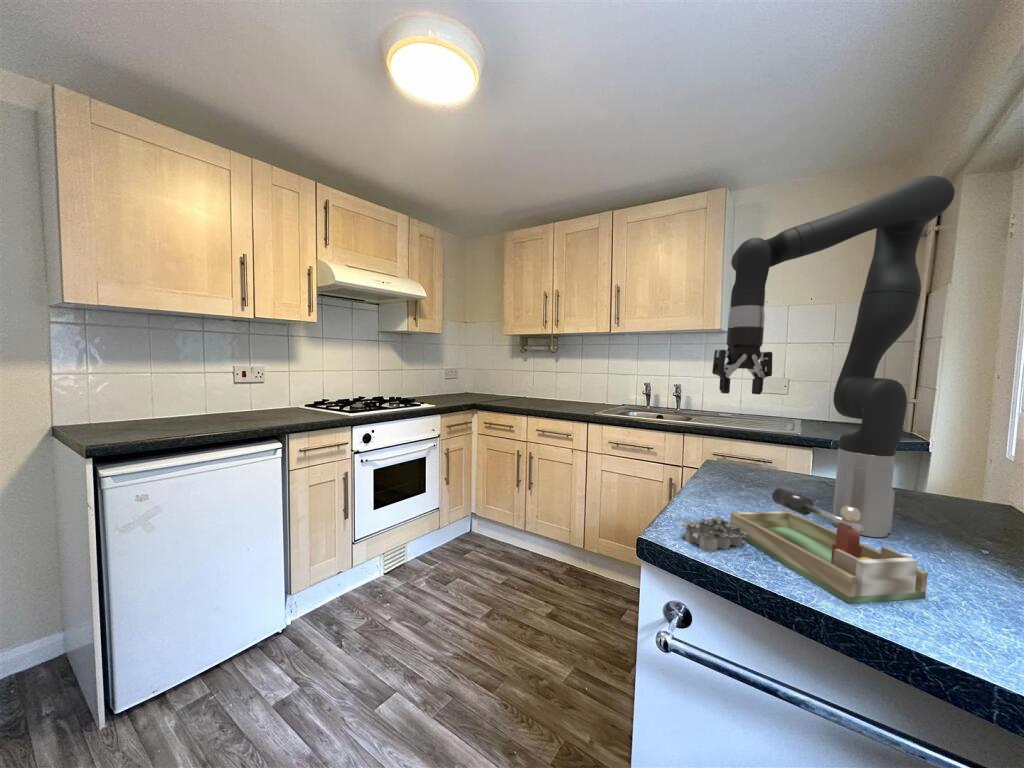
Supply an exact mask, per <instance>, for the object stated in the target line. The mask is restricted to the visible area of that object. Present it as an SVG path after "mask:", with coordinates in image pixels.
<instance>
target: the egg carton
mask: <svg viewBox="0 0 1024 768" xmlns="http://www.w3.org/2000/svg"><path fill="white" fill-rule="evenodd" d="M681 527H682V528H684V529H685V533H684V538H685V539H684V540H685V541H686V542H687V543H692V544H693V543H694V544H696V545H698V548H699V549H700V550H702V551H709V552H715V553H716V552H717V551H718V548H720V549H724V550H729V549H730V546H736V547H739V548H741V547H743V536H744V537H746V534H747V532H746V531H745V532H742V531H741V530H740V528H739V527H736V526H734V524H731V523H730V520H727V521H726V520H725V519H724V518H722V517H721V516H720V515H717V516H715V517H712V518H707V519H705V518H702V519H700V520H699V519H698V520H693V521H692V520H688V519H687V520H685V521H683V523H682V525H681Z"/></svg>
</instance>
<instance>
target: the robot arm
mask: <svg viewBox="0 0 1024 768" xmlns="http://www.w3.org/2000/svg"><path fill="white" fill-rule="evenodd" d="M955 192H956V191H955V186H954V185H953V183H952V182H951V181H950V180H949V179H948V178H945V177H944V176H940V175H925V176H919V177H917V178H913V179H912V180H910V181H908V182H906V183H904V184H902V185H900V186H897V187H895V188H894V189H891V190H890V191H889V190H888V191H887V192H885V193H883V194H881V195H879V196H876V197H873V198H871V199H869V200H867V201H864V202H861V203H859V204H856V205H853V206H852V207H849V208H846V209H843V210H842V211H838V212H835V213H831V214H829V215H826V216H823V217H821V218H817V219H814V220H812V221H808V222H805V223H802V224H798V225H796V226H793V227H789V228H786V229H784V230H782V231H781V232H779V233H777V234H776V235H774V236H773V237H770V238H768V239H763V238H761V237H752V238H749V239H747V240H745V241H744V242H742V243H741V244H740V245H739V246H738V248H737V249H736V251H735V252H734V253H733V255H732V258H731V268H733V270H734V271H735V281H734V284H733V285H732V288H731V294H730V308H729V313H728V317H727V318H728V320H727V332H726V334H727V335H726V346H727V350H726V349H716V350H715V351H714V355H713V362H712V369H711V371H712V372H711V373H712V374H713V375H716V376H718V377H719V386H718V387H719V391H720V393H721V394H730V391H731V375H732V374H733V373H734V372H735V371H737V370H738V369H744V370H745V369H747V371H748V372H750V374H751V376H752V377H753V378H752V384H751V393H752V395H761V394H762V393H763V387H764V379H765V378H768V377H771V376H772V375H773V352H772V351H761V347H762V346H763V343H764V331H765V319H766V318H765V303H766V301H765V299H766V284H767V279H768V275H769V271H770V268H771V267H775V266H776V265H777V266H778V265H779V264H781V263H784V262H787V261H790V260H795V259H798V258H801V257H805V256H810V255H812V254H815V253H818V252H821V251H823V250H826V249H827V250H828V249H829V248H831V247H834V246H836V245H838V244H841V243H843V242H845V241H847V240H849V239H852V238H855V237H857V236H859V235H862V234H864V233H867V232H870V231H872V230H875V229H876V231H875V243H874V249H873V254H872V258H871V262H870V265H869V268H868V269H869V270H868V273H867V276H866V280H865V284H864V287H863V288H864V289H863V290H862V295H861V298H860V302H859V307H858V312H857V315H856V321H855V327H854V330H853V334H852V337H851V341H850V345H849V348H848V352H847V354H846V357H845V360H844V363H843V366H842V368H841V370H840V374H839V375H838V379H837V381H836V384H835V388H834V392H833V400H832V401H833V405H834V408H835V410H836V412H837V413H838V414H839V415H841V416H843V417H846V418H851V419H858V420H861V424H860V427H859V429H858V430H856V431H855V432H852V433H847V434H843V435H841V436H840V437H839V440H838V451H837V463H836V474H835V475H836V476H835V486H834V497H833V508H832V514H834V515H837V516H839V517H841V515H840V510H841V508H842V507H844V506H853V507H855V508H857V509H858V510H859V512H860V515H861V516H860V519H859V520H858V521H856V522H854V523H857V524H859V525H862V526H864V528H865V530H864V532H863V533H860V536H863V537H864V536H865V537H869V538H870V537H871V538H886V537H887V536H888V533H891V534H892V526H893V516H894V505H895V494H896V491H895V489H893V485H894V484H893V480H894V472H895V461H896V451H897V447H898V445H899V444H900V442H901V440H902V437H903V436H902V435H903V430H904V423H905V417H906V414H907V408H908V407H907V405H908V404H907V403H908V397H907V395H908V394H907V391H906V390H905V387H904V386H903V384H902V383H900V382H899V381H897V380H895V379H891V378H884V377H883V378H882V377H875V376H876V372H877V369H878V366H879V363H880V361H881V360H882V358H883V356H884V355H885V354H886V353H887V351H888V350H889V349H890V348H891V346H892V345H894V343H896V341H898V340H899V338H900V337H901V336H903V334H904V333H905V332H906V331H907V330H908V329H909V327H910V326H911V324H912V323H913V321H914V320H915V317H916V313H917V309H918V306H919V301H920V296H921V291H922V284H921V283H922V282H921V277H920V272H919V270H918V265H917V259H916V256H917V249H918V247H919V242H920V239H921V237H922V234H923V231H924V229H925V227H926V225H927V224H928V223H929V222H931V221H932V220H934V219H936V218H938V216H940V215H941V214H943V213H944V212H945V211H946V210H947V209H948V208H949V206H951V204H952V202H953V200H954V198H955ZM726 358H727V361H726ZM831 523H832V525H834V526H836V527H837V525H838V523H835V522H833V521H831Z"/></svg>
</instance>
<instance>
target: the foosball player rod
mask: <svg viewBox="0 0 1024 768" xmlns="http://www.w3.org/2000/svg"><path fill="white" fill-rule="evenodd" d="M771 496H772V501H773V502H774V503H775V504H777V505H780V506H782V507H784V508H787V509H789V510H791V511H794V513H797V514H799V515H802V516H808V515H810V514H811V513H812V514H814V515H816V516H819V517H821V518H824V519H826V520H828V521H830V522H832V521H833V522H835V523H838V525H837V526H836V527H837V529H836V532H837V536H836V544H833V546H832V557H831V564H833V560H834V549H840V550H842V551H844V552H846V553H848V554H850V555H852V556H854V557H856V558H860V557H861V553H862V547H860V546H859V542H860V540H861V535H860V533H863V532H864V530H865V528H864V526H862V525H859V524H857V523H854V522H856V521H858V520H859V519H860V516H861V515H860V512H859V510H858V509H857V508H855V507H853V506H844V507H842V508H841V510H840V515H841V517H839V516H837V515H834V514H833V512H832V513H831V512H828V511H826V510H824V509H821V508H819V507H816V506H814V501H812V499H810V498H809V497H806V496H804V495H800V494H798V493H795V492H793V491H790V490H788V489H784V488H782V487H778V488H776V489H775V490H774V491H773V492H772V495H771Z"/></svg>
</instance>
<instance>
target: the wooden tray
mask: <svg viewBox="0 0 1024 768" xmlns="http://www.w3.org/2000/svg"><path fill="white" fill-rule="evenodd" d="M729 518H730V519H729V522H730V523H731V524H734V526H736V527H739V528H740V530H741V531H742V532H745V531H746V532H747V534H746V537H744V536H743V539H742V541H744V542H746V543H748V544H750V545H751V546H752V547H754V548H756V549H757V550H759V551H761V552H763V553H764V554H766V555H768V557H769V556H770V557H771V558H773V559H774V560H775V561H778V562H779V563H781V564H782V565H784V566H785V567H787V568H789V569H791V570H792V571H793V572H795V573H797V574H798V575H800V576H802V577H803V578H805V579H807V580H808V581H810V582H811V583H813V584H815V585H817V586H818V587H820V588H822V589H824V591H826V592H829V594H831V595H833V596H835V597H837V598H838V599H840V600H842V601H843V602H845V603H847V604H859V603H860V604H861V603H874V602H875V603H876V602H888V601H889V602H890V601H901V600H902V601H904V600H917V599H925V598H926V596H927V594H926V593H927V586H928V584H927V583H928V576H929V573H928V572H927V571H925V570H922V569H920V568H918V564H919V563H918V562H919V560H918V559H915V558H912V557H911V556H908V555H906V554H903V553H901V552H898V551H896V550H894V549H892V548H889V547H887V546H881V549H880V550H878V549H875V548H873V547H871V546H869V545H866V544H864V543H862V542H860V541H859V546H860V547H862V553H861V557H868V558H871V559H869V560H861V559H858V558H856V557H854V556H852V555H850V554H848V553H846V552H844V551H842V550H840V549H834V560H833V564H831V557H832V546H833V544H836V536H837V531H835V530H833V529H830V528H827V527H826V526H823V525H821V524H819V523H817V522H814V521H812V520H810V519H808V518H805V517H803V516H801V515H800V514H798V513H797V514H796V513H795V512H792V511H789V510H783V511H781V510H780V511H779V510H778V511H750V512H749V511H747V512H746V511H745V512H741V511H740V512H730V517H729Z"/></svg>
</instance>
